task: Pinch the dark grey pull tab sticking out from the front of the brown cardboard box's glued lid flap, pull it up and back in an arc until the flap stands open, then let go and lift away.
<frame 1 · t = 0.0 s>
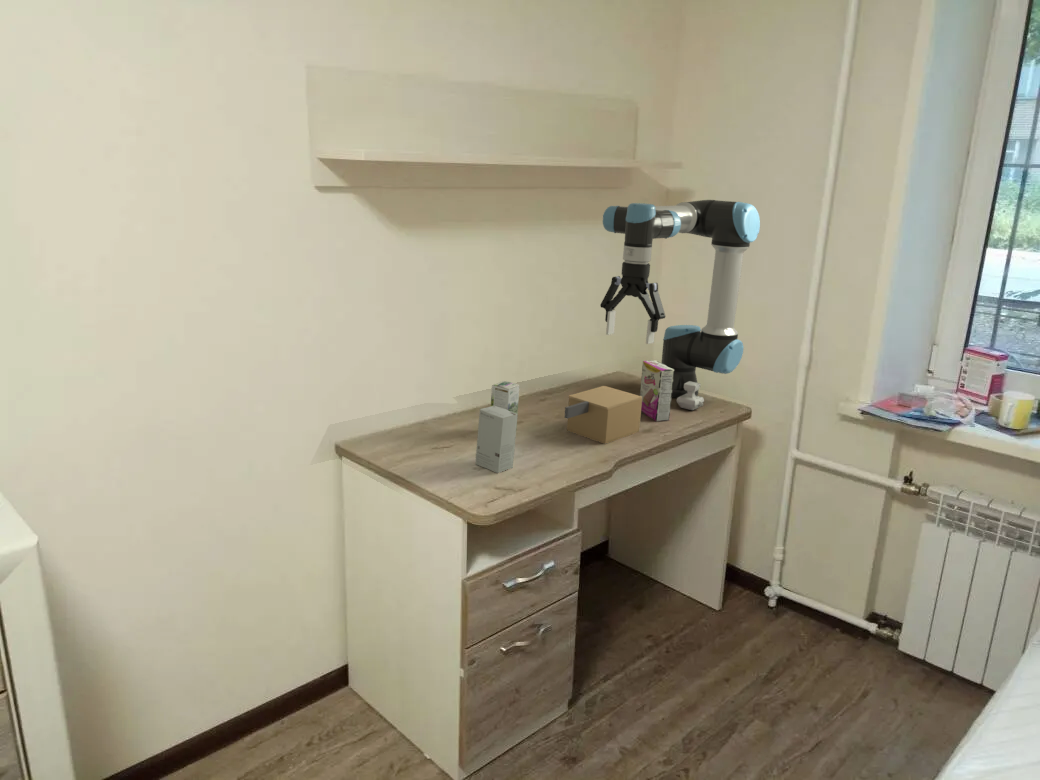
hand: (629, 338, 220), 28 cm above the table, tool pointing down, fingers open, 13 cm apart
carton: (603, 431, 229), on the table
flap: (595, 404, 223), point 9 cm above the table, hinge at 0.0°
candy bar box: (653, 416, 246), on the table
stamp: (689, 408, 255), on the table
skincare box: (495, 467, 200), on the table
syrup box: (503, 434, 224), on the table
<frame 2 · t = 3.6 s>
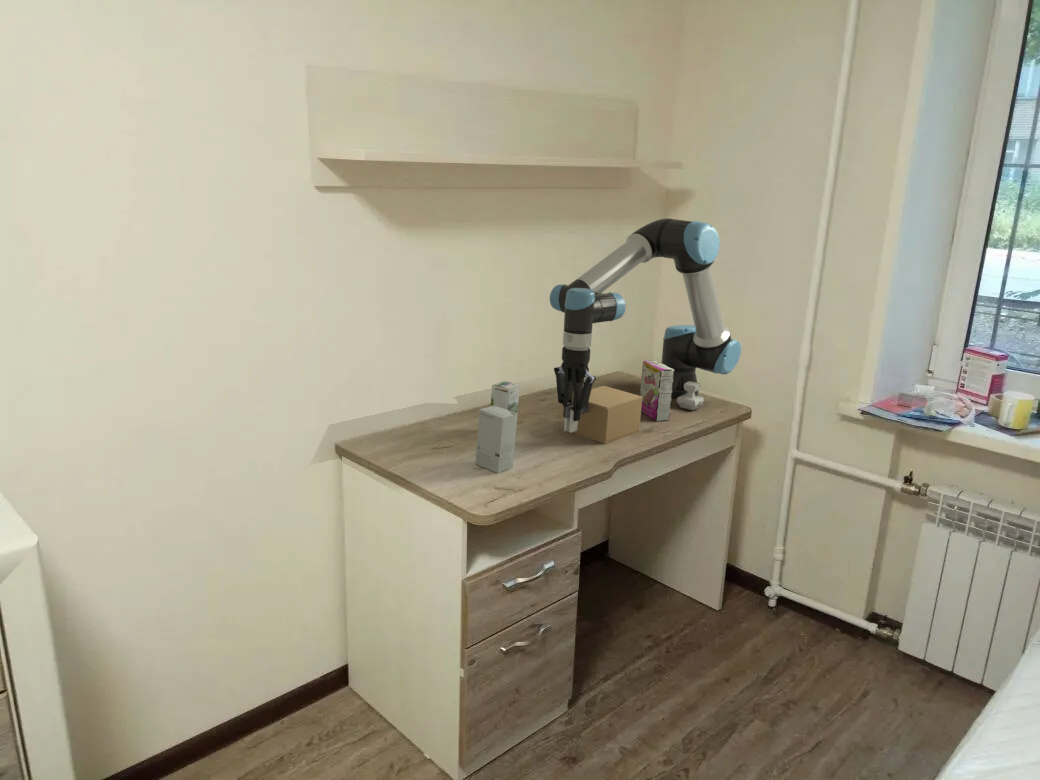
hand: (570, 430, 218), 4 cm above the table, tool pointing down, fingers closed on flap
flap: (595, 404, 223), point 9 cm above the table, hinge at 0.0°, touching gripper
everything else where it was.
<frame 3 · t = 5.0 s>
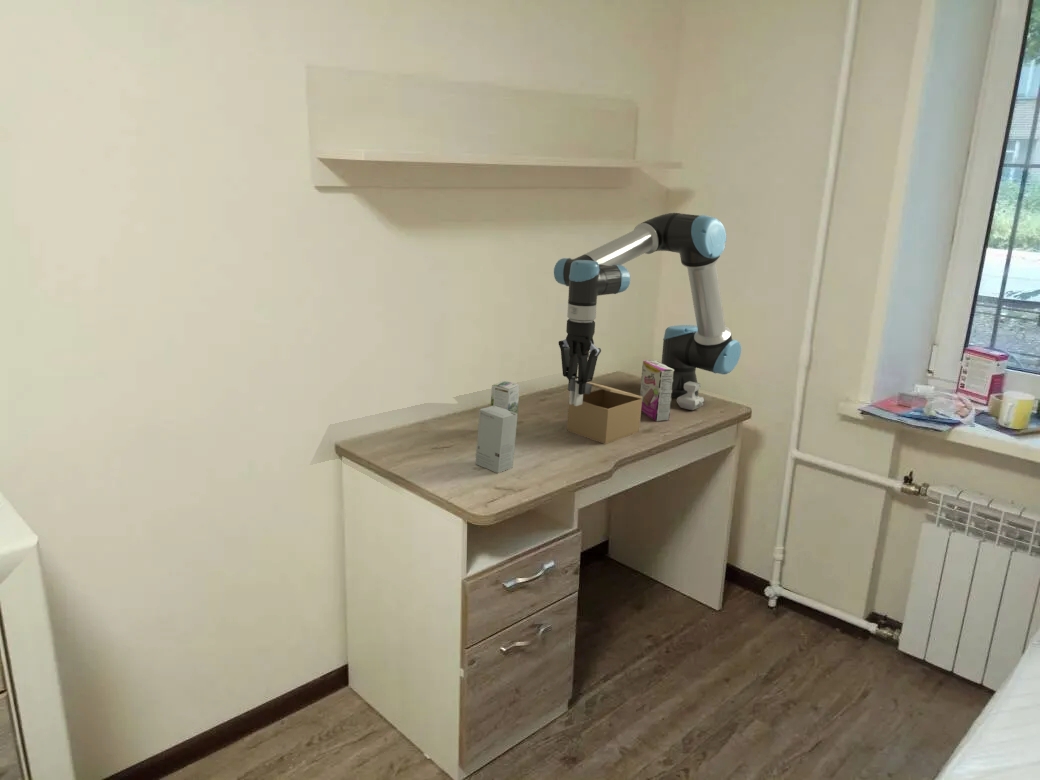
hand: (575, 404, 217), 11 cm above the table, tool pointing down, fingers closed on flap
flap: (597, 390, 223), point 13 cm above the table, hinge at 17.7°, touching gripper
everything else where it was.
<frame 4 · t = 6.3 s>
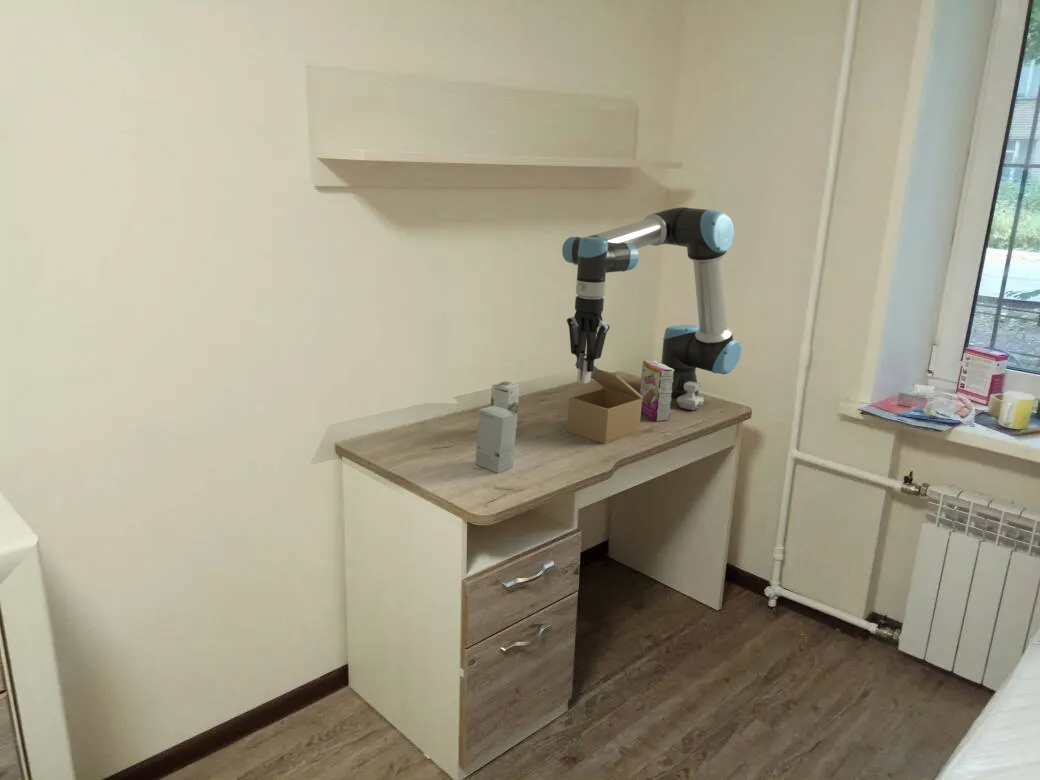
hand: (583, 381, 217), 17 cm above the table, tool pointing down, fingers closed, pressing on flap
flap: (601, 378, 223), point 16 cm above the table, hinge at 33.4°, touching gripper
everything else where it was.
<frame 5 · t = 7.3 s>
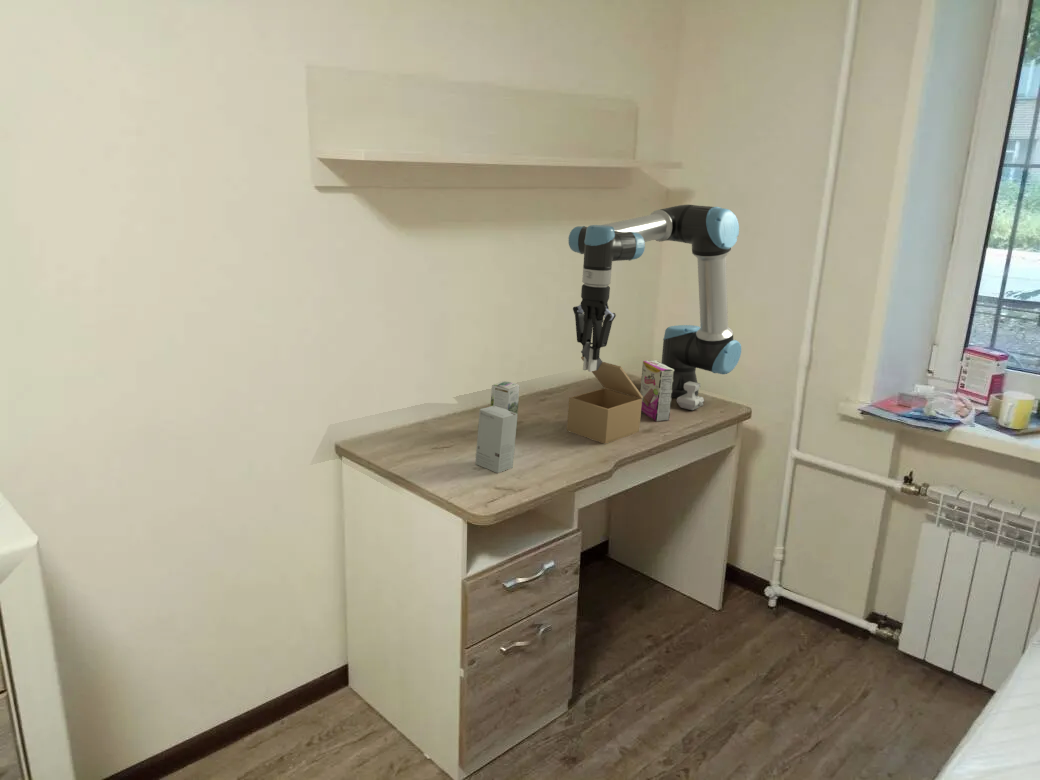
hand: (589, 369, 218), 20 cm above the table, tool pointing down, fingers closed on flap
flap: (603, 372, 223), point 18 cm above the table, hinge at 42.2°, touching gripper
everything else where it was.
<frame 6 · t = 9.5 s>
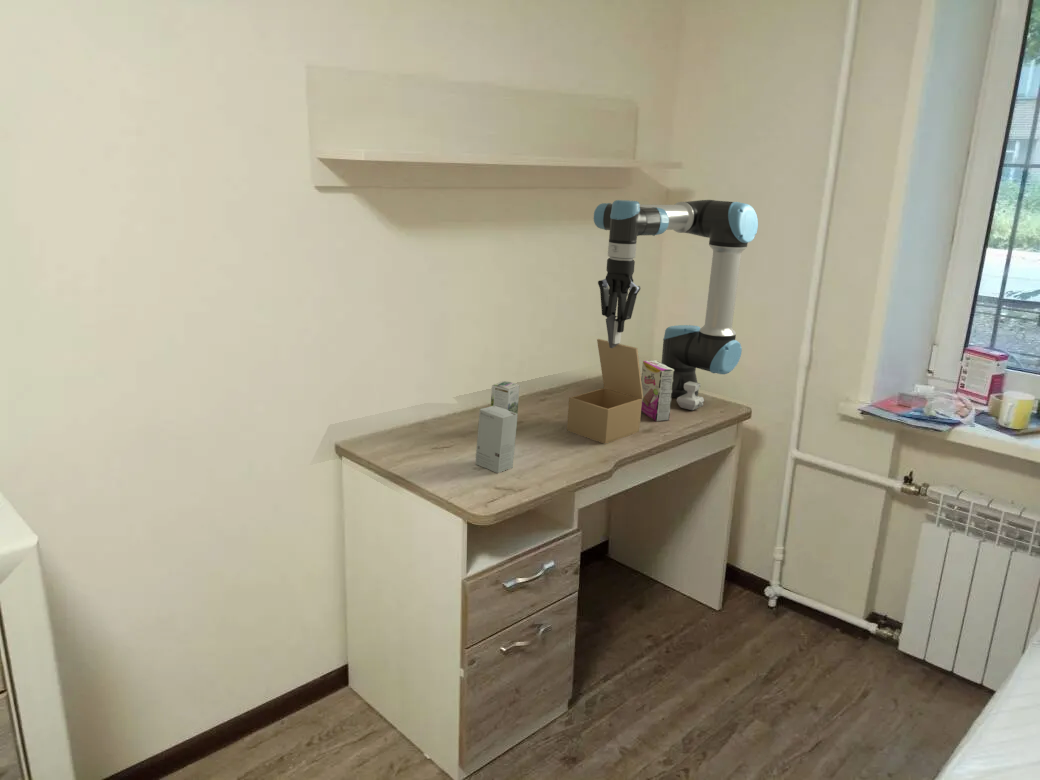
hand: (614, 342, 223), 26 cm above the table, tool pointing down, fingers closed on flap
flap: (615, 357, 225), point 22 cm above the table, hinge at 70.9°, touching gripper
everything else where it was.
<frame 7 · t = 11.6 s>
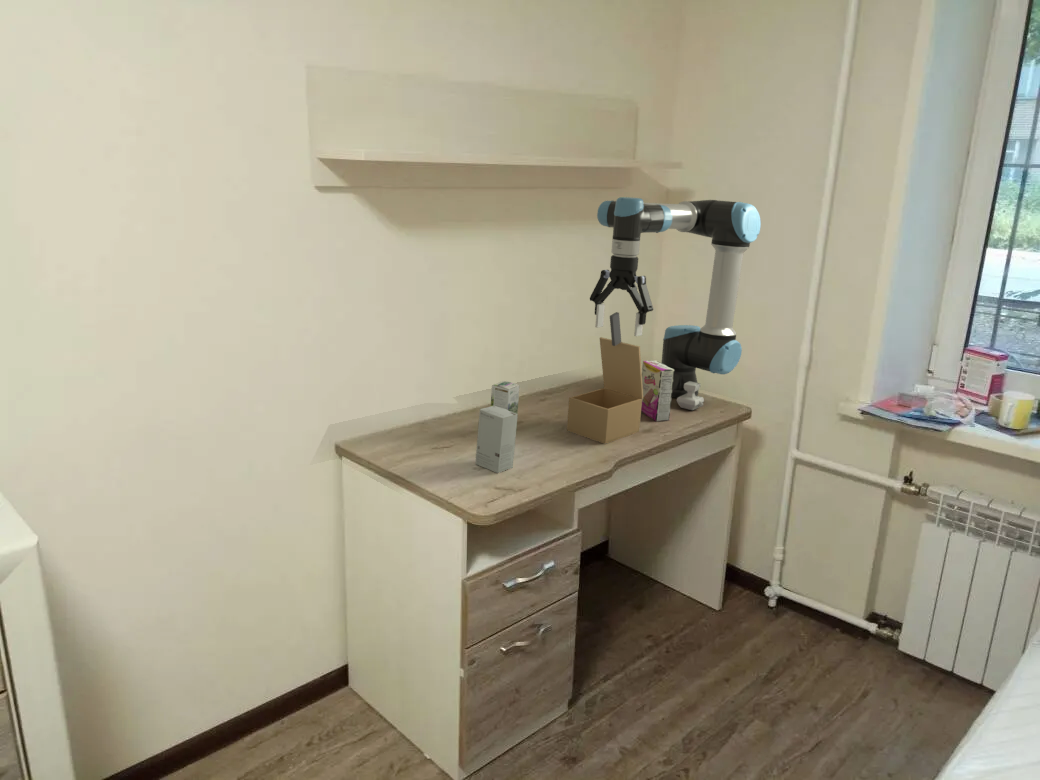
hand: (618, 331, 223), 29 cm above the table, tool pointing down, fingers open, 13 cm apart
flap: (617, 355, 226), point 22 cm above the table, hinge at 75.0°
everything else where it was.
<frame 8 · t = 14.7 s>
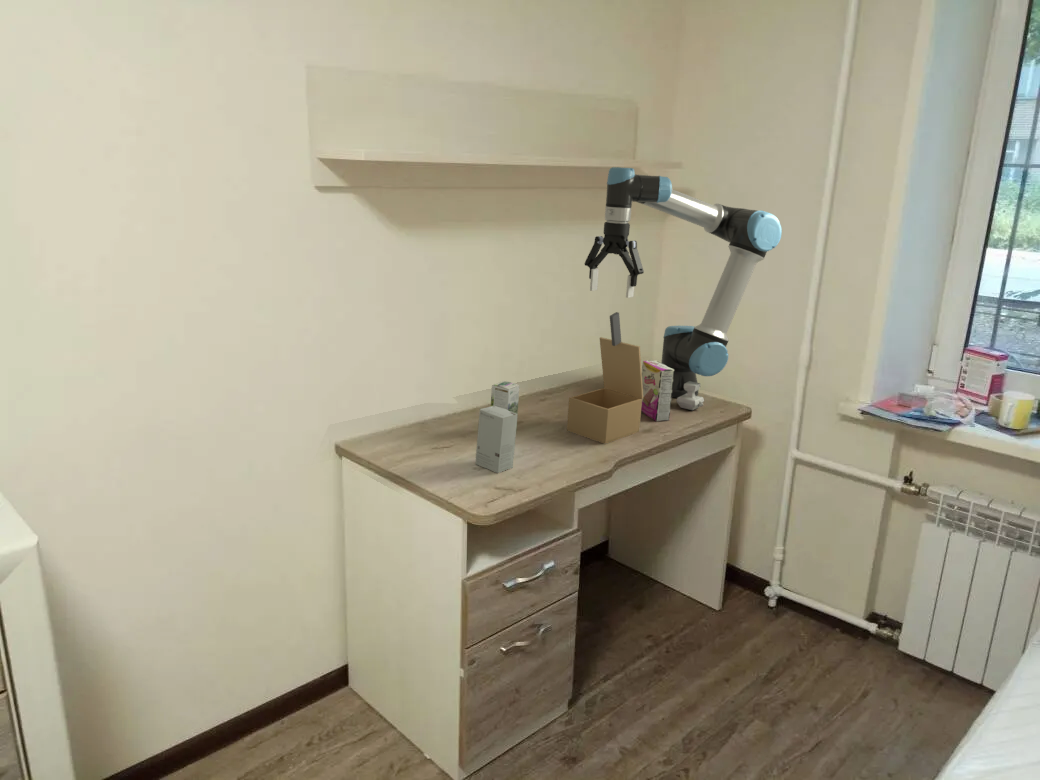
hand: (611, 293, 239), 37 cm above the table, tool pointing down, fingers open, 13 cm apart
nothing on the table moved.
at the end: flap at +75° (first picture: +0°); the gripper is holding nothing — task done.
